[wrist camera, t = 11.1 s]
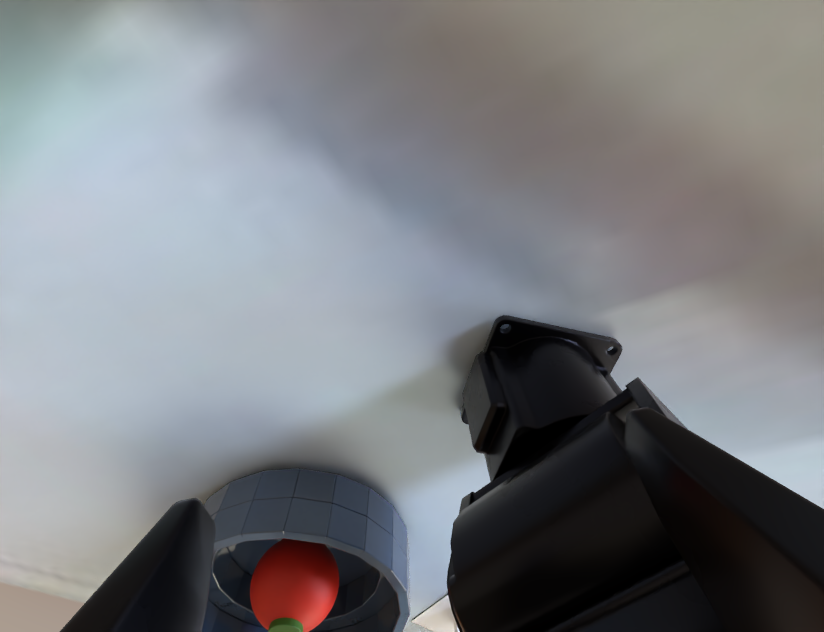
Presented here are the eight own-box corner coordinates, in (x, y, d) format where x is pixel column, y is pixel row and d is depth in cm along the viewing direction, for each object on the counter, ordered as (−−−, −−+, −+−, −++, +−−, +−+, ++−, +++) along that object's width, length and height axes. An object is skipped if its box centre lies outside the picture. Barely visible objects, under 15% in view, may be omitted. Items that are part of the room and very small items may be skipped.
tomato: (350, 523, 27) (339, 613, 23) (336, 573, 29) (325, 663, 25) (267, 511, 27) (239, 601, 22) (260, 563, 29) (233, 654, 24)
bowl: (431, 481, 26) (436, 551, 22) (384, 608, 32) (381, 682, 28) (201, 445, 25) (163, 514, 21) (196, 585, 31) (165, 661, 27)
